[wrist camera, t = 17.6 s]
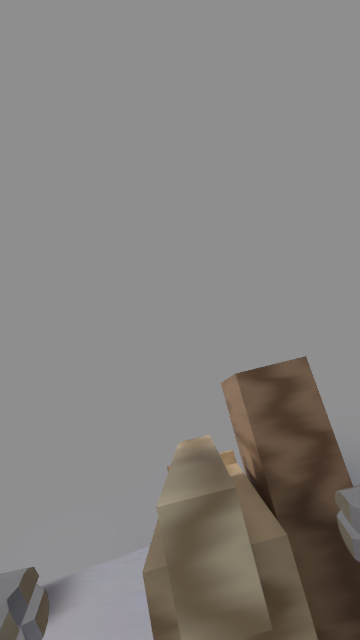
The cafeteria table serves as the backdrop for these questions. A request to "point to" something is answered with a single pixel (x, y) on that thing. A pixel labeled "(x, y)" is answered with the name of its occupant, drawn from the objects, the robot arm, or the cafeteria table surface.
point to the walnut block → (299, 483)
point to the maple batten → (209, 548)
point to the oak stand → (271, 562)
